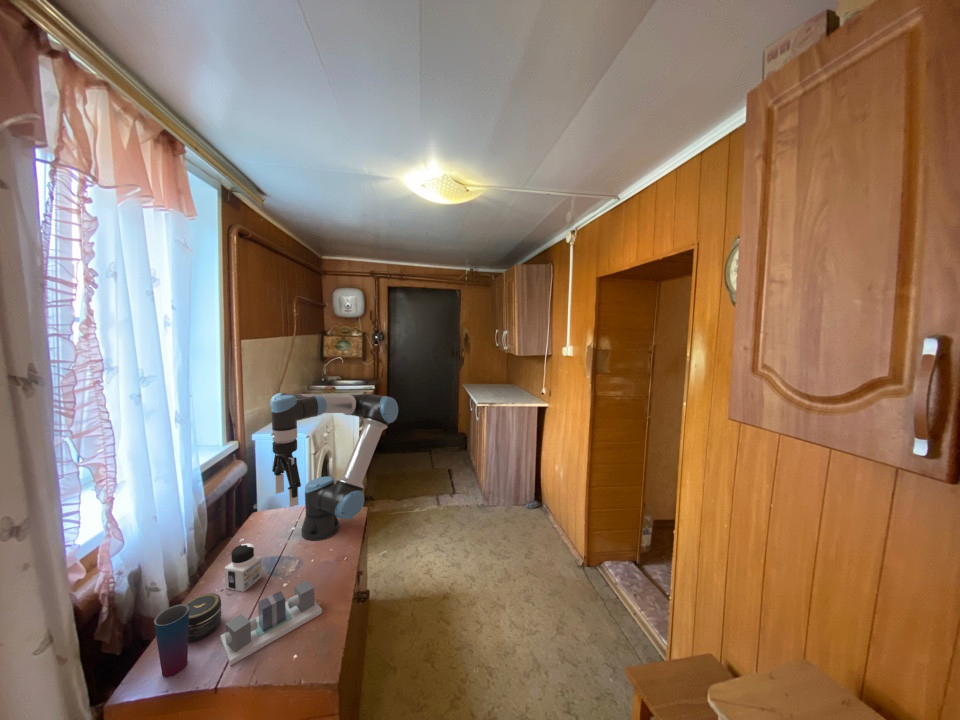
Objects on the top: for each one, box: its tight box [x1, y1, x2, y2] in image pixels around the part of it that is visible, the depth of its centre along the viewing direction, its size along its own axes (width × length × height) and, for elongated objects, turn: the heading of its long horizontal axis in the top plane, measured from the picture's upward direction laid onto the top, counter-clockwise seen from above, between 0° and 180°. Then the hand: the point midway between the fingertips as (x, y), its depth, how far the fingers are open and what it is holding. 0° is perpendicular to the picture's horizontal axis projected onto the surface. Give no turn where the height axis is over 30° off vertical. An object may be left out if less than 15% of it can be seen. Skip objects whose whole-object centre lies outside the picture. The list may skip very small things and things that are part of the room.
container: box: [224, 543, 263, 593], centre depth 122 cm, size 8×8×13 cm
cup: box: [153, 603, 189, 678], centre depth 91 cm, size 7×7×15 cm
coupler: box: [257, 590, 286, 632], centre depth 105 cm, size 6×4×7 cm
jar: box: [185, 592, 222, 643], centre depth 103 cm, size 10×10×8 cm
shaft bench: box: [219, 579, 323, 666], centre depth 105 cm, size 24×11×8 cm, turn 137°
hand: (286, 498), depth 124 cm, fingers open, 13 cm apart
